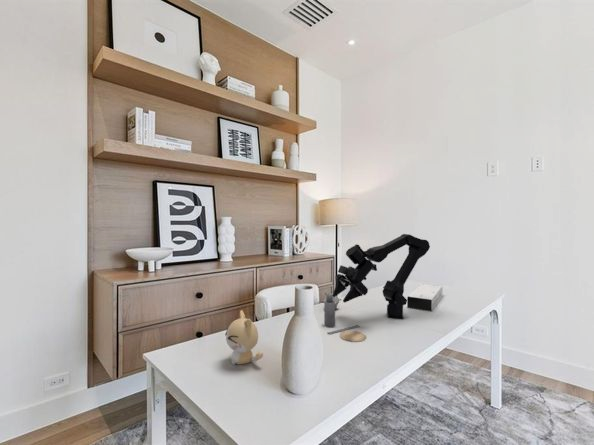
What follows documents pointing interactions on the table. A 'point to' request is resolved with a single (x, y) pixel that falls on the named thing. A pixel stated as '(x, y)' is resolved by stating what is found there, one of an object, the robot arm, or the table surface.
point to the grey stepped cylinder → (329, 311)
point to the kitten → (242, 340)
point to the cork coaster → (352, 336)
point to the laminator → (425, 297)
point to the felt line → (343, 329)
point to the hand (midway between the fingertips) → (338, 299)
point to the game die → (333, 300)
